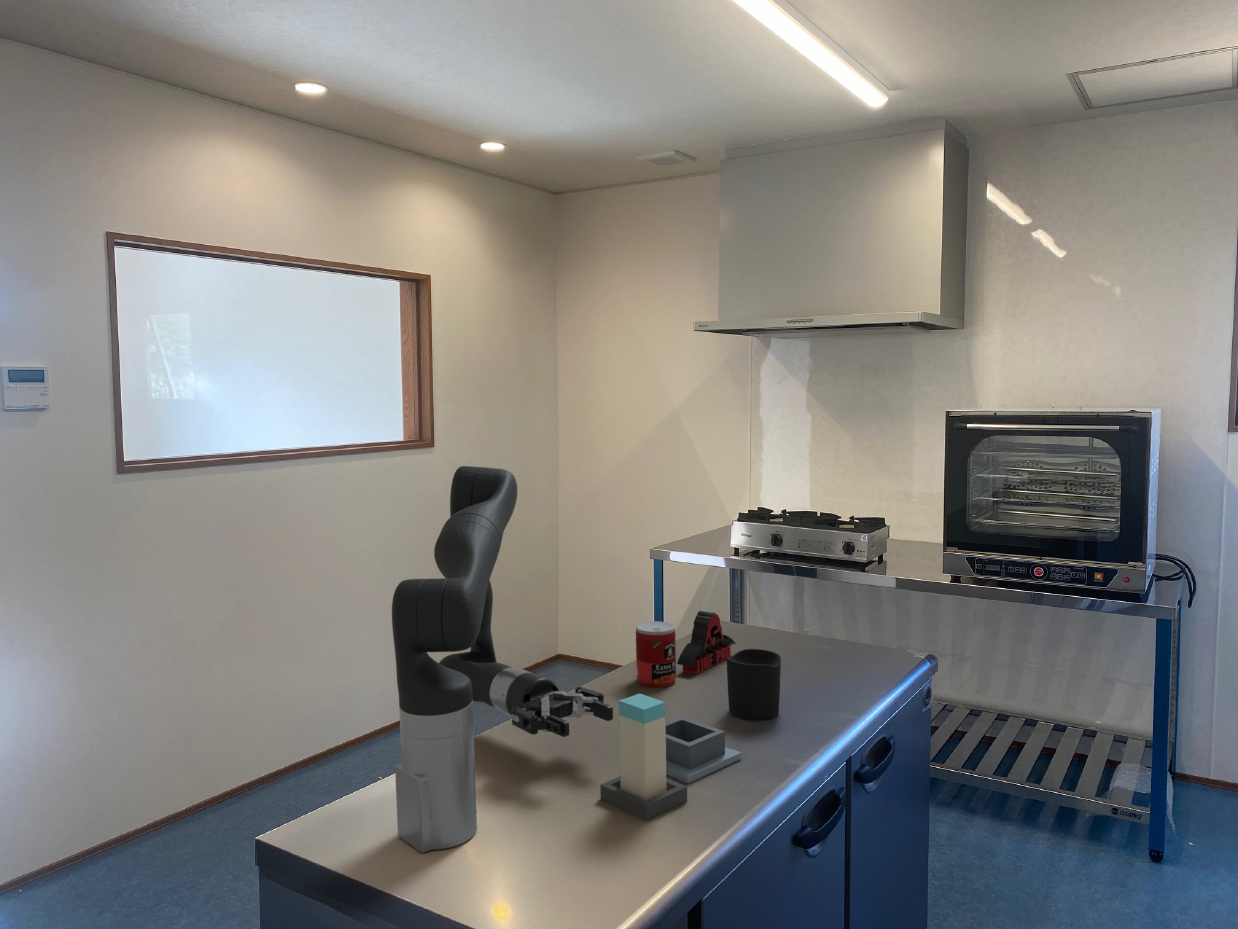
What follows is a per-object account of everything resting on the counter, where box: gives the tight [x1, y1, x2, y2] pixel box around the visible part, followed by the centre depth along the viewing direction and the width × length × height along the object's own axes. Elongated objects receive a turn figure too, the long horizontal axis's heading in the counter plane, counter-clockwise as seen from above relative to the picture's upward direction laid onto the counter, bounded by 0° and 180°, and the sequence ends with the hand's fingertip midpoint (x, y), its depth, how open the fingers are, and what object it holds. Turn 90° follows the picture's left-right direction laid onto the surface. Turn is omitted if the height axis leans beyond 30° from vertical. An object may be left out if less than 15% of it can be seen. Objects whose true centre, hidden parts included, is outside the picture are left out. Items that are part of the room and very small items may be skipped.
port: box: [665, 716, 742, 784], centre depth 136 cm, size 12×12×4 cm
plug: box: [618, 693, 667, 801], centre depth 122 cm, size 4×5×14 cm
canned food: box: [635, 620, 677, 689], centre depth 172 cm, size 8×8×11 cm
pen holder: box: [725, 648, 782, 722], centre depth 155 cm, size 9×9×10 cm
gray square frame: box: [599, 776, 688, 821], centre depth 122 cm, size 8×9×2 cm
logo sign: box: [676, 610, 736, 675], centre depth 182 cm, size 18×4×11 cm, turn 144°
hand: (589, 722), depth 130 cm, fingers open, 8 cm apart
